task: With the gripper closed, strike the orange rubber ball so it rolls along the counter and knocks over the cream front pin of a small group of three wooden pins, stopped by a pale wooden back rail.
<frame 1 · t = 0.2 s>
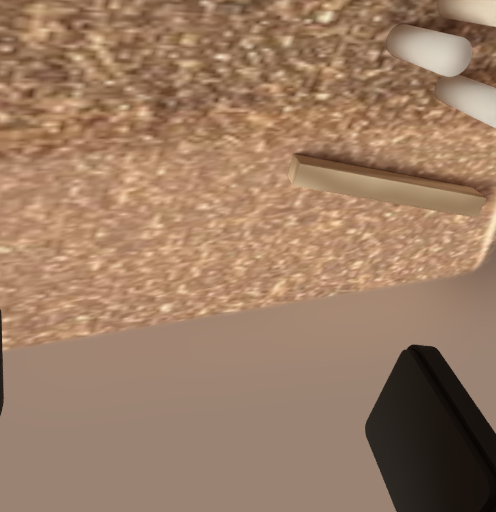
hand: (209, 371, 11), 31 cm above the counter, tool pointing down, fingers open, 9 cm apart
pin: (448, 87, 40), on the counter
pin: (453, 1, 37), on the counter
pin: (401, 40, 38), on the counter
back rail: (383, 181, 44), on the counter
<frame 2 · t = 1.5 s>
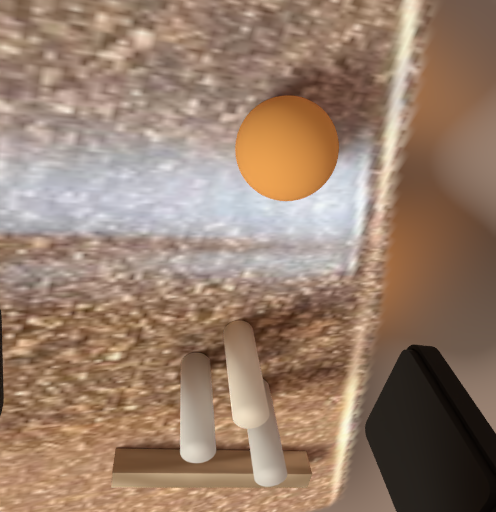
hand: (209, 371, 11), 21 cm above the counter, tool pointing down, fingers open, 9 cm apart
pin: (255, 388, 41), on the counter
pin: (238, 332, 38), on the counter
ball: (286, 149, 28), on the counter
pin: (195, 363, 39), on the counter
back rail: (213, 456, 45), on the counter
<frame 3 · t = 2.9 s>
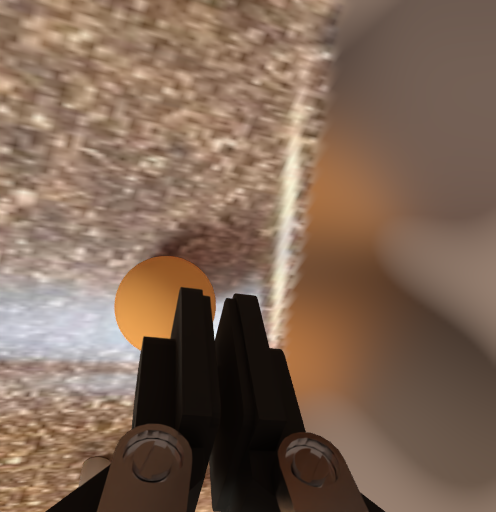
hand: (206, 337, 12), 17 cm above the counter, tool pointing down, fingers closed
ball: (166, 305, 29), on the counter
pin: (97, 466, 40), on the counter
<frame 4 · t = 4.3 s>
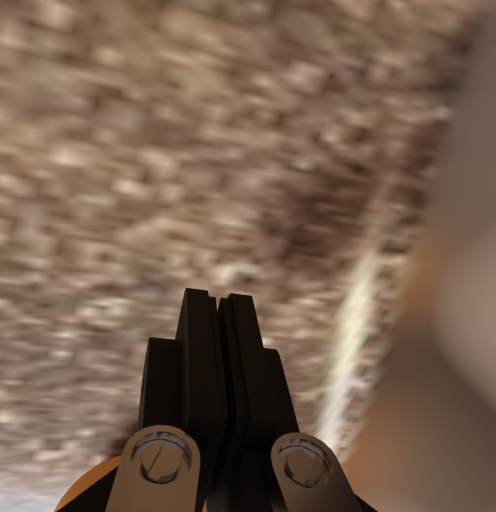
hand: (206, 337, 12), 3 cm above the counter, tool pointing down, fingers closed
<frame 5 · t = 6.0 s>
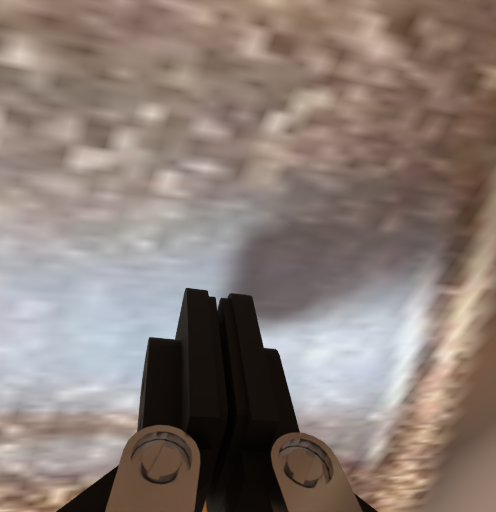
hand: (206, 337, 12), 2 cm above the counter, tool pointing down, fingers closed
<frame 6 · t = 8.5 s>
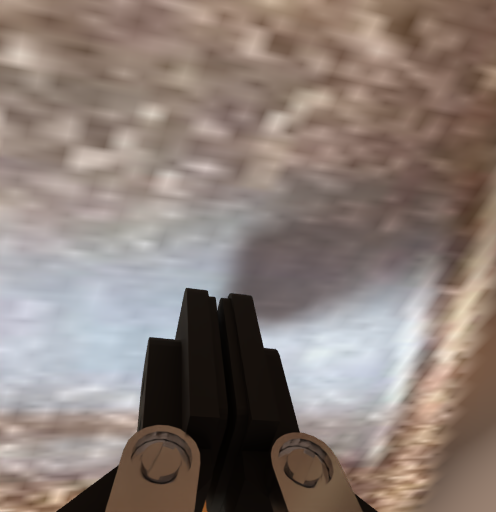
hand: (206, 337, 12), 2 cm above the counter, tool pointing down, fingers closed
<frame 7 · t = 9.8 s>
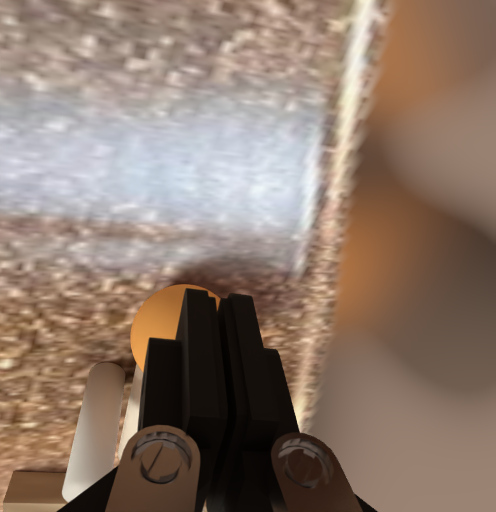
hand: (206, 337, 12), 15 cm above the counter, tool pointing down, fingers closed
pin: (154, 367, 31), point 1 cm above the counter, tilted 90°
ball: (184, 336, 27), on the counter
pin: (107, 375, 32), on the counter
back rail: (133, 483, 38), on the counter
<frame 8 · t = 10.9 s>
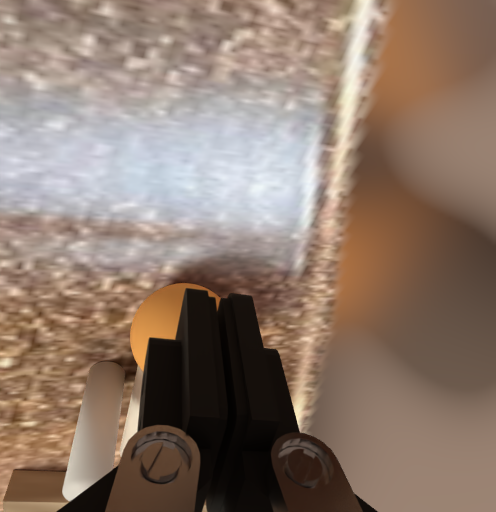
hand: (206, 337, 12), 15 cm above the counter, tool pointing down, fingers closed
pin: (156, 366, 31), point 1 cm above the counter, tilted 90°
ball: (183, 335, 27), on the counter
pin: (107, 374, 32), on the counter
back rail: (133, 481, 38), on the counter
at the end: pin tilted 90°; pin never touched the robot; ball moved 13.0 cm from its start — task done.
